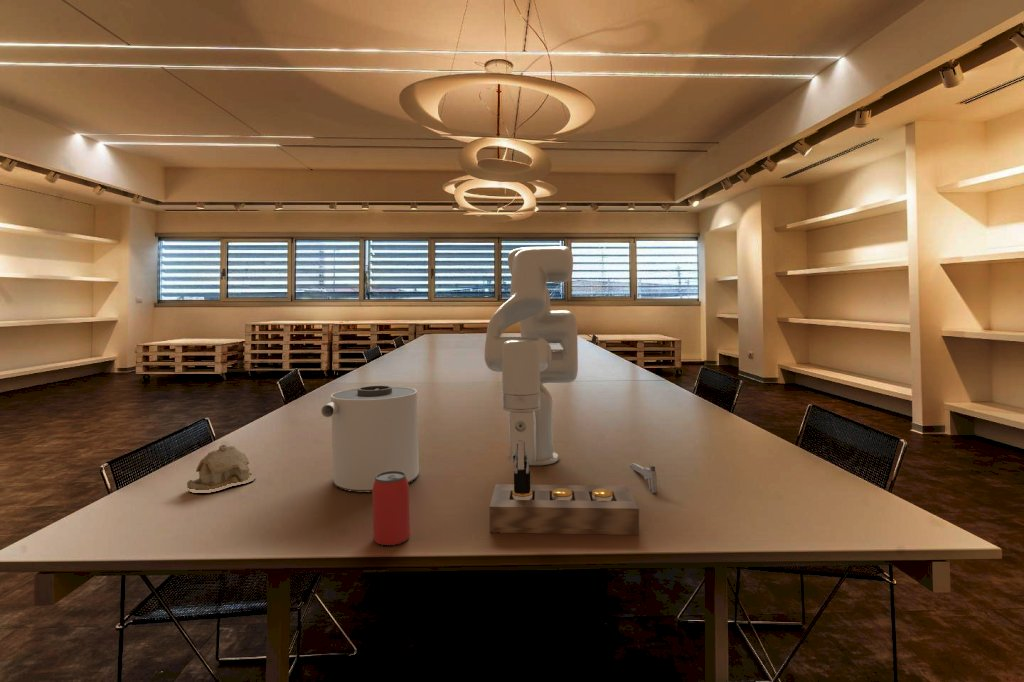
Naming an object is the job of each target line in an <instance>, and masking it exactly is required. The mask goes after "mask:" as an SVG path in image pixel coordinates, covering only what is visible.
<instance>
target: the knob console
mask: <svg viewBox="0 0 1024 682" xmlns="http://www.w3.org/2000/svg"><path fill="white" fill-rule="evenodd" d="M558 488H565V489H569V490H571V491H572V501H568V500H552V491H553V490H554V489H558ZM530 489H531V490H532V500H513V490H514V483H512V484H511V483H508V484H507V483H506V484H504V483H502V484H501V483H500V484H499V483H498V484H497V483H495V486H494V489H493V493H492V497H491V500H490V503H489V533H497V532H500V533H501V534H502V533H503V534H505V533H506V534H508V533H509V534H561V535H562V534H564V535H565V534H567V535H568V534H569V535H577V534H578V535H622V536H623V535H624V536H625V535H628V536H639V535H640V508H639V506H638V504H637V502H636V499H635V497H634V496H633V494H632V492H631V490H630V488H629V486H628V485H611V484H610V485H609V484H607V485H603V484H601V485H599V484H598V485H597V484H596V485H595V484H594V485H593V484H591V485H589V484H530ZM595 489H607V490H610V491H612V501H592V491H593V490H595ZM497 534H498V533H497Z"/></svg>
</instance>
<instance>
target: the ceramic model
mask: <svg viewBox="0 0 1024 682" xmlns="http://www.w3.org/2000/svg"><path fill="white" fill-rule="evenodd" d="M249 464H250V460H249V458H248V456H247V455H246V454H245V453H244V452H241V451H240V450H239V449H238V448H237V447H235V446H233V445H229V446H227V445H225V444H224V445H223V444H222V445H219V447H218V449H216V450H215V449H214V450H212V451H209V452H208V453H207V455H206V456H204V457H203V458H202V459H201V460H200V461H199V462H198V465H197V467H196V469H195V472H196V473H197V472H198V476H199V477H198V478H196V479H194V480H193V479H189V480H188V481H187V483H186V484H187V486H186V488H187V489H188V488H189V489H195V490H209V489H215V488H219V487H222V486H226V485H227V484H231V483H237V482H243V481H246V480H248V478H250V476H251V475H252V474H253V473H252V472H250V470H251V469H250V467H249ZM189 489H188V490H189Z"/></svg>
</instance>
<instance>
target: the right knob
mask: <svg viewBox="0 0 1024 682" xmlns="http://www.w3.org/2000/svg"><path fill="white" fill-rule="evenodd" d="M592 501H612V491H610V490H607V489H595V490H593V491H592Z"/></svg>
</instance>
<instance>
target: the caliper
mask: <svg viewBox="0 0 1024 682" xmlns="http://www.w3.org/2000/svg"><path fill="white" fill-rule="evenodd" d="M629 466H630V467H631V469H632V470H633V471H635V472H637V473H638V474H639V473H640V475H643V477H644V478H643V479H644V480H647V481H648V488H649V492H651V493H652V494H657V492H658V479H657V478H658V477H657V471H656V466H655V465H649V467H644V466H642V465H640V464H637V463H635V462H633V463H632V462H631V463H630V465H629Z"/></svg>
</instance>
